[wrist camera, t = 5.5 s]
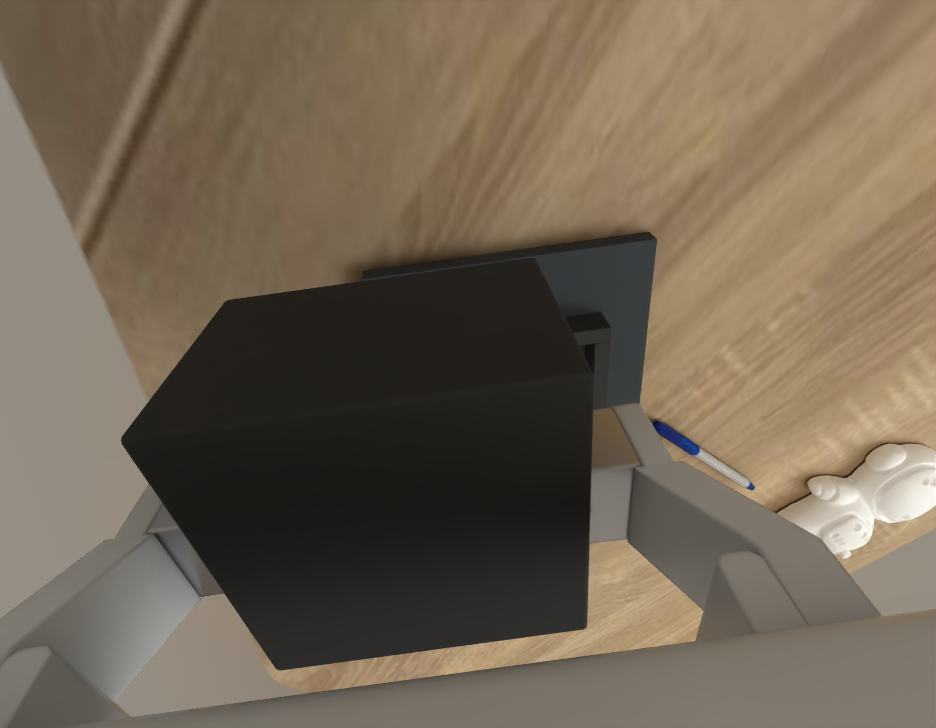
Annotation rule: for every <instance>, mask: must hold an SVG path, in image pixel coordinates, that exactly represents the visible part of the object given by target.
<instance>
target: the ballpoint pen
mask: <svg viewBox="0 0 936 728" xmlns="http://www.w3.org/2000/svg"><path fill="white" fill-rule="evenodd" d="M653 427H654V428H655V430H656V432H658V433H659V434H660V435H661V436H663V437H664V438H666V439H668V440H669V441H671V442H672V443H674V444H675V445H677V446H678V447H680V448H681V449H683V450H684V451H686V452H688V453H689V454H691V455H694V456H695V457H697V458H698V459H700V460H701V461H703V462H705V463H706V464H708V465H709V466H711V467H712V468H714V469H715V470H717V471H719V472H720V473H722V474H723V475H725V476H726V477H728V478H729V479H731V480H733V481H734V482H736V483H737V484H739V485H740V486H742V487H744V488H747V489H750V490H754V489H755V487H754V485H753V484H752V483H751V482H750V481H749V480H748V479H747V478H745V477H743V476H742V475H740V474H739V473H737V472H736V471H734V470H733V469H731V468H730V467H728V466H727V465H725V464H724V463H722V462H721V461H719V460H718V459H716V458H715V457H713V456H712V455H710V454H709V453H707V452H705V451H704V450H702V449H701V448H699V446H698V445H696V444H695V443H693V442H692V441H690V440H689V439H687V438H686V437H684V436H683V435H681V434H679V433H678V432H676V431H675V430H673V429H672V428H670V427H669V426H667V425H665V424H663V423H661V422H659V421H656V422H654V423H653Z"/></svg>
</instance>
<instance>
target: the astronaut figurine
mask: <svg viewBox="0 0 936 728" xmlns="http://www.w3.org/2000/svg"><path fill="white" fill-rule="evenodd" d="M807 485H808V488H809V490H810V491H811V492H812V494H811V495H809V496H807V497H805V498H803V499H801V500H800V501H798V502H796V503H793V504H791V505H789V506H788V507H786V508H784V509H783V510H781V511H779V512H778V513H776V514H778V515H780V516H781V517H783V518H785V519H787V520H789V521H790V522H792V523H794V524H796V525H797V526H799V527H801V528H803V529H805V530H806V531H808V532H810V533H812V534H814V535H815V536H817V537H819V538H821V539H822V541H823V542H824V543H825V544H826V546H827V547H828V548H829V549H830V551H831V552H832V553H833V554H834V555H835V554H836V553H838V554H839V555H840V557H841V558H848V557H849V556H850V554H851V553H850V549H851V550H854V549H857V548H859V547H861V546H863V545H865V544H866V543H867V542H868V541H869V539H870V537H871V535H872V532H873V527H874V519H878V520H881V521H883V522H887V523H893V522H898V521H906V520H910V519H913V518H916V517H918V516H920V515H922V514H924V513H925V512H927V511H928V510H930V509H931V508H933V507H934V506H935V505H936V452H935V451H934V450H932V449H931V448H929V447H927V446H924V445H920V444H904V445H896V444H885V445H882V446H880V447H878V448H876V449H875V450H873V451H872V452H871V453H870V454H869V455H868V456H867V457H866V459H865V463H864V464H862V465H861V466H860V467H859V468H857V469H856V470H855V472H854V473H853V474H852V475H850V476H849V477H847V478H840V477H836V476H828V475H825V476H818V477H814V478H811V479H809V481H808V482H807Z"/></svg>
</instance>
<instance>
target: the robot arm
mask: <svg viewBox="0 0 936 728" xmlns="http://www.w3.org/2000/svg"><path fill="white" fill-rule="evenodd" d="M625 539H628V541H627V542H629V543H630V544H631V545H632V546H633V547H634V548H635V549H636V550H637V551H638V552H640V553H641V554H642V555H643V556H644V557H645V558H646V559H647V560H648V561H649V562H651V563H652V564H653V565H654V566H655V567H656V568H657V569H658V570H659V571H661V572H662V573H663V574H664V575H665V576H666V577H667V578H668V579H669V580H670V581H672V582H673V583H674V584H675V585H676V586H677V587H678V588H679V589H680V590H681V591H683V592H684V593H685V594H686V595H687V596H688V597H689V598H690V599H691V600H692V601H694V602H695V603H696V604H697V605H698V606H699V607H700V608H701V609H702V610H703V615H702V619H701V622H700V626H699V630H698V633H697V637H696V641H694V642H686V643H679V644H672V645H664V646H657V647H649V648H642V649H634V650H627V651H619V652H612V653H605V654H597V655H590V656H582V657H575V658H567V659H560V660H552V661H545V662H538V663H530V664H523V665H515V666H508V667H500V668H493V669H485V670H478V671H471V672H463V673H456V674H448V675H441V676H433V677H426V678H418V679H411V680H404V681H396V682H389V683H381V684H374V685H367V686H359V687H352V688H345V689H337V690H330V691H322V692H315V693H308V694H300V695H293V696H286V697H278V698H271V699H263V700H257V701H249V702H242V703H234V704H227V705H219V706H212V707H204V708H197V709H189V710H182V711H175V712H167V713H160V714H152V715H144V716H137V717H130V716H129V715H128V714H127V713H126V712H125V711H124V710H123V709H121V708H120V707H119V706H118V705H117V704H116V703H114V701H115V700H116V698H117V697H118V696H119V695H120V694H121V693H122V691H123V690H124V689H125V688H126V687H127V685H128V684H129V683H130V682H131V681H132V680H133V679H134V677H135V676H136V675H137V674H138V673H139V672H140V670H141V669H142V668H143V667H144V666H145V665H146V663H147V662H148V661H149V660H150V659H151V658H152V656H153V655H154V654H155V653H156V652H157V651H158V649H159V648H160V647H161V646H162V645H163V644H164V643H165V641H166V640H167V639H168V638H169V637H170V636H171V634H172V633H173V632H174V631H175V630H176V628H177V627H178V626H179V625H180V624H181V622H183V620H184V619H185V618H186V617H187V616H188V614H189V613H190V612H191V611H192V610H193V609H194V608H195V606H196V605H197V604H198V603H199V602H200V601H201V598H200V597H204V596H210V595H216V594H223V593H224V592H223V591H222V589H221V588H220V586H219V585H218V583H217V582H216V581H215V579H214V578H213V576H212V575H211V573H210V572H209V570H208V569H207V567H206V566H205V565H204V563H203V562H202V560H201V559H200V557H199V556H198V554H197V553H196V551H195V550H194V548H193V547H192V546H191V544H190V543H189V541H188V540H187V538H186V537H185V535H184V534H183V532H182V531H181V530H180V528H179V527H178V525H177V524H176V522H175V521H174V519H173V518H172V516H171V515H170V514H169V512H168V511H167V509H166V508H165V506H164V505H163V503H162V502H161V500H160V499H159V497H158V496H157V495H156V493H155V492H154V490H153V489H152V487H151V486H150V484H148V486H147V488H146V489H145V491H144V492H143V494H142V495H141V497H140V499H139V500H138V502H137V503H136V505H135V507H134V508H133V510H132V511H131V513H130V514H129V516H128V518H127V519H126V521H125V522H124V524H123V526H122V527H121V529H120V530H119V532H118V534H117V535H116V537H115V539H110V540H105V541H103V542H102V543H101V544H100V545H98V546H97V547H95V548H94V549H93V550H91V551H90V552H89V553H87V554H86V555H85V556H84V557H82V558H81V559H80V560H78V561H77V562H76V563H74V564H73V565H71V566H70V567H69V568H67V569H66V570H65V571H63V572H62V573H61V574H59V575H58V576H57V577H55V578H54V579H53V580H51V581H50V582H49V583H47V584H46V585H45V586H43V587H42V588H41V589H39V590H38V591H37V592H35V593H34V594H33V595H31V596H30V597H29V598H27V599H26V600H25V601H23V602H22V603H21V604H19V605H18V606H17V607H15V608H14V609H13V610H11V611H10V612H9V613H7V614H6V615H5V616H3V617H2V618H1V619H0V728H936V609H932V610H925V611H917V612H910V613H903V614H895V615H888V616H882V615H881V614H880V613H879V612H878V610H877V609H876V608H875V606H874V605H873V604H872V603H871V601H870V600H869V599H868V598H867V596H866V595H865V594H864V593H863V591H862V590H861V589H860V587H859V586H858V585H857V584H856V582H855V581H854V580H853V579H852V577H851V576H850V575H849V573H848V572H847V571H846V570H845V568H844V567H843V566H842V565H841V563H840V562H839V561H838V560H837V558H836V557H835V556H834V554H833V553H832V552H831V551H830V549H829V548H828V547H827V546H826V544H825V543H824V542H823V541H822V539H821V538H819V537H817V536H815V535H814V534H812V533H810V532H808V531H806V530H805V529H803V528H801V527H799V526H797V525H796V524H794V523H792V522H790V521H789V520H787V519H785V518H783V517H781V516H780V515H778V514H776V513H774V512H773V511H771V510H769V509H767V508H765V507H764V506H762V505H760V504H758V503H757V502H755V501H753V500H751V499H749V498H748V497H746V496H744V495H742V494H741V493H739V492H737V491H735V490H733V489H732V488H730V487H728V486H726V485H724V484H723V483H721V482H719V481H717V480H716V479H714V478H712V477H710V476H708V475H707V474H705V473H703V472H701V471H700V470H698V469H696V468H694V467H692V466H691V465H689V464H687V463H685V462H684V461H681V462H674V460H673V458H672V457H671V455H670V453H669V452H668V450H667V448H666V447H665V445H664V443H663V442H662V440H661V438H660V437H659V435H658V433H657V432H656V430H655V428H654V427H653V425H652V423H651V422H650V420H649V418H648V417H647V415H646V413H645V412H644V410H643V408H642V407H641V405H640V404H638V403H629V404H623V405H617V406H610V408H609V407H607V408H600V409H593V435H592V470H591V505H590V540H589V543H597V542H606V541H616V540H625Z"/></svg>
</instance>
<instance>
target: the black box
mask: <svg viewBox="0 0 936 728" xmlns="http://www.w3.org/2000/svg"><path fill="white" fill-rule="evenodd" d="M593 400H594V374H593V372H592V370H591V368H590V366H589V364H588V362H587V360H586V358H585V356H584V354H583V352H582V350H581V348H580V346H579V344H578V342H577V340H576V338H575V336H574V334H573V332H572V330H571V328H570V326H569V324H568V322H567V320H566V318H565V316H564V314H563V312H562V310H561V308H560V306H559V304H558V302H557V300H556V298H555V296H554V294H553V292H552V290H551V288H550V286H549V284H548V282H547V280H546V278H545V276H544V274H543V272H542V270H541V268H540V266H539V264H538V262H537V260H536V258H525V259H518V260H511V261H504V262H496V263H489V264H482V265H475V266H468V267H461V268H454V269H446V270H439V271H432V272H425V273H418V274H411V275H404V276H396V277H389V278H382V279H375V280H368V281H361V282H354V283H346V284H339V285H332V286H325V287H318V288H311V289H304V290H296V291H289V292H282V293H275V294H268V295H261V296H254V297H247V298H239V299H232V300H227V301H226V302H224V304H223V305H222V306H221V308H220V309H219V310H218V312H217V313H216V314H215V316H214V317H213V318H212V319H211V321H210V322H209V323H208V325H207V326H206V327H205V329H204V330H203V331H202V333H201V334H200V335H199V336H198V338H197V339H196V340H195V342H194V343H193V344H192V346H191V347H190V348H189V350H188V351H187V352H186V353H185V355H184V356H183V357H182V359H181V360H180V361H179V363H178V364H177V365H176V367H175V368H174V369H173V370H172V372H171V373H170V374H169V376H168V377H167V378H166V380H165V381H164V382H163V384H162V385H161V386H160V387H159V389H158V390H157V391H156V393H155V394H154V395H153V397H152V398H151V399H150V401H149V402H148V403H147V404H146V406H145V407H144V409H143V410H142V411H141V412H140V414H139V415H138V416H137V418H136V419H135V420H134V422H133V423H132V424H131V425H130V427H129V428H128V429H127V431H126V432H125V433H124V435H123V436H122V439H121V442H122V445H123V446H124V448H125V449H126V451H127V452H128V454H129V455H130V457H131V458H132V460H133V461H134V462H135V464H136V465H137V467H138V468H139V470H140V471H141V473H142V474H143V476H144V477H145V479H146V480H147V481H148V483H149V484H150V486H151V487H152V489H153V490H154V492H155V493H156V495H157V496H158V497H159V499H160V500H161V502H162V503H163V505H164V506H165V508H166V509H167V511H168V512H169V514H170V515H171V516H172V518H173V519H174V521H175V522H176V524H177V525H178V527H179V528H180V530H181V531H182V532H183V534H184V535H185V537H186V538H187V540H188V541H189V543H190V544H191V546H192V547H193V548H194V550H195V551H196V553H197V554H198V556H199V557H200V559H201V560H202V562H203V563H204V565H205V566H206V567H207V569H208V570H209V572H210V573H211V575H212V576H213V578H214V579H215V581H216V582H217V583H218V585H219V586H220V588H221V589H222V591H223V592H224V594H225V595H226V597H227V598H228V599H229V601H230V602H231V604H232V605H233V607H234V608H235V610H236V611H237V613H238V614H239V615H240V617H241V618H242V620H243V621H244V623H245V624H246V626H247V627H248V629H249V630H250V632H251V633H252V634H253V636H254V637H255V639H256V640H257V642H258V643H259V645H260V646H261V648H262V649H263V651H264V652H265V653H266V655H267V656H268V658H269V659H270V661H271V662H272V664H273V665H274V667H275V668H276V669H277V670H287V669H295V668H302V667H309V666H317V665H324V664H332V663H339V662H346V661H354V660H361V659H368V658H376V657H383V656H391V655H398V654H405V653H413V652H420V651H428V650H435V649H442V648H450V647H457V646H464V645H472V644H479V643H487V642H494V641H501V640H509V639H516V638H524V637H531V636H538V635H546V634H553V633H560V632H568V631H575V630H583V629H585V628H586V627H587V610H588V575H589V540H590V505H591V470H592V435H593Z"/></svg>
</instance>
